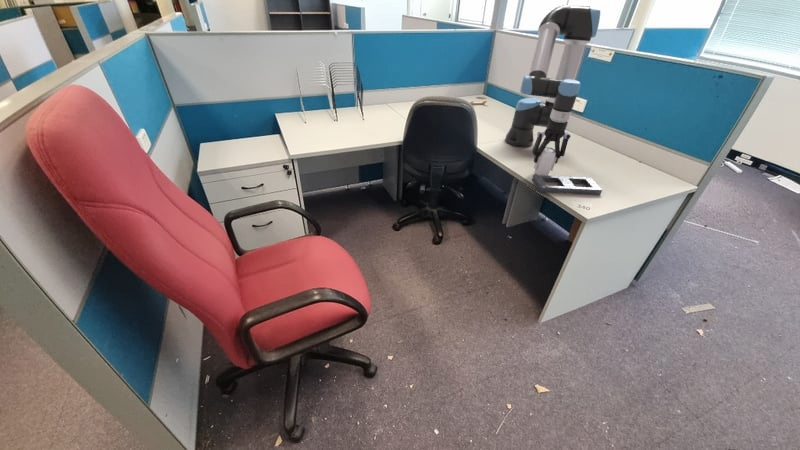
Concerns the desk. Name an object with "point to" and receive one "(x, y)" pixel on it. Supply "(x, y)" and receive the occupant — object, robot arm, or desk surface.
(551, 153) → the can
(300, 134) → the desk surface
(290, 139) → the desk surface
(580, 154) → the desk surface
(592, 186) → the holder
